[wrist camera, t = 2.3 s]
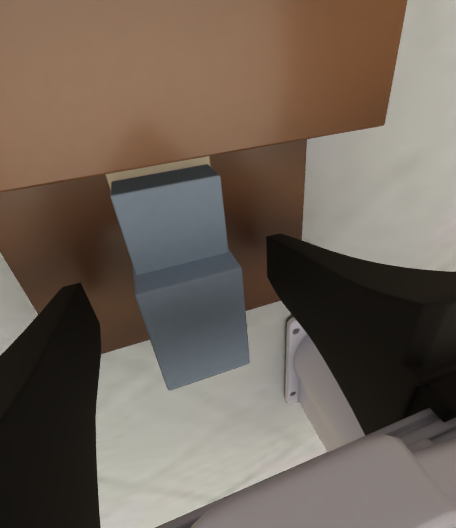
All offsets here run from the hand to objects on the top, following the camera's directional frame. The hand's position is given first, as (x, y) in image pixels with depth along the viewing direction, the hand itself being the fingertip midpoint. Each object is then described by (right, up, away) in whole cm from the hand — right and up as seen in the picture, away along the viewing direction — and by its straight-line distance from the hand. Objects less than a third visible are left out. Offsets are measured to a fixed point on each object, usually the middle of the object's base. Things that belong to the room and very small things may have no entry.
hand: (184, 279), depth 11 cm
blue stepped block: (-1, +1, +1) cm, 2 cm away
